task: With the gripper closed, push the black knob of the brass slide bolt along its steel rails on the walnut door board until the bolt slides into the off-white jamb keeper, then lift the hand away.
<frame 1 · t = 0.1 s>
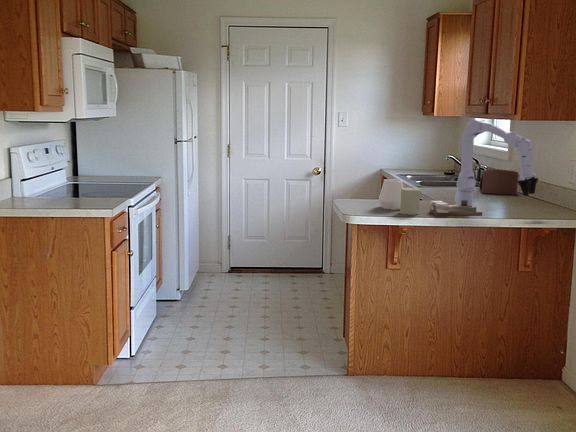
hand: (529, 194, 301), 11 cm above the worktop, tool pointing down, fingers open, 7 cm apart
beige upright block: (409, 213, 307), on the worktop
door board: (455, 213, 307), on the worktop
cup: (391, 208, 319), on the worktop
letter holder: (497, 193, 379), on the worktop
bolt: (457, 205, 307), point 4 cm above the worktop, slide at 0.0 cm
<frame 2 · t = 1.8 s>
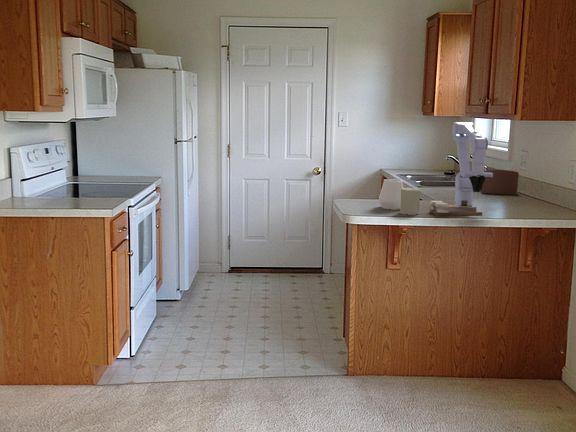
hand: (476, 192, 307), 10 cm above the worktop, tool pointing down, fingers closed
nothing on the worktop moved.
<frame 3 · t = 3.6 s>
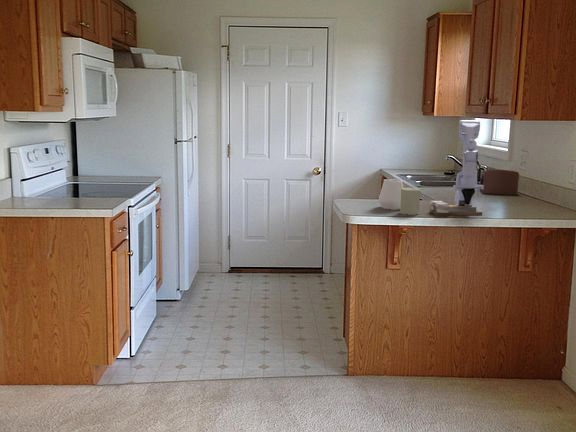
hand: (467, 204, 307), 4 cm above the worktop, tool pointing down, fingers closed
bolt: (454, 205, 307), point 4 cm above the worktop, slide at 1.2 cm, touching gripper
everything else where it was.
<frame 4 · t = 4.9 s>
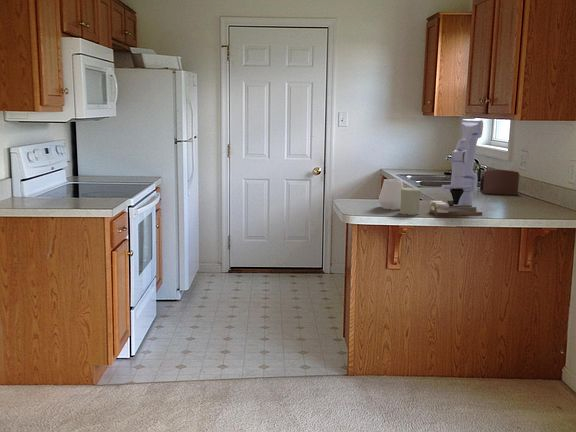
hand: (455, 204, 306), 4 cm above the worktop, tool pointing down, fingers closed
bolt: (443, 205, 306), point 4 cm above the worktop, slide at 7.0 cm, touching gripper
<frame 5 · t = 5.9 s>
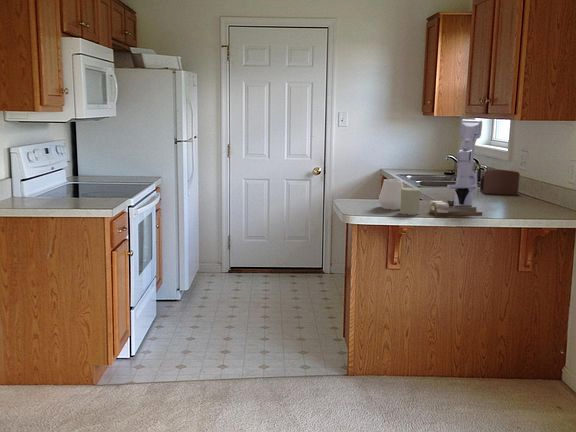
hand: (461, 204, 307), 4 cm above the worktop, tool pointing down, fingers closed
bolt: (443, 205, 306), point 4 cm above the worktop, slide at 7.0 cm
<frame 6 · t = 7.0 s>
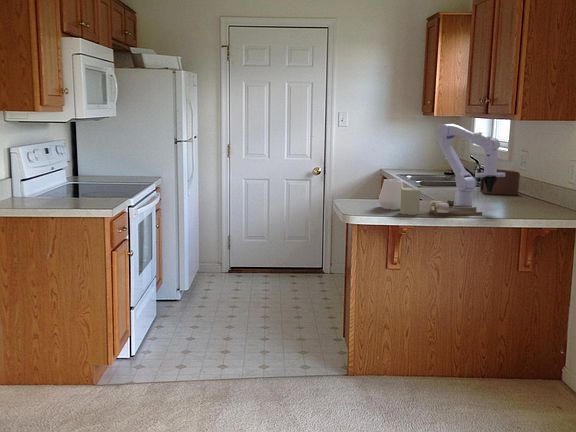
hand: (489, 192, 312), 10 cm above the worktop, tool pointing down, fingers closed
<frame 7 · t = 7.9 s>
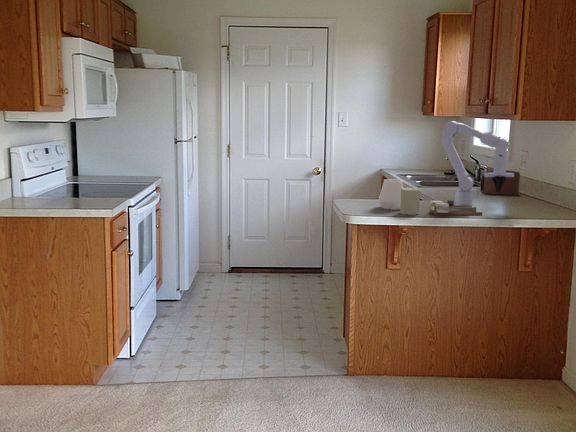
hand: (497, 191, 316), 9 cm above the worktop, tool pointing down, fingers closed
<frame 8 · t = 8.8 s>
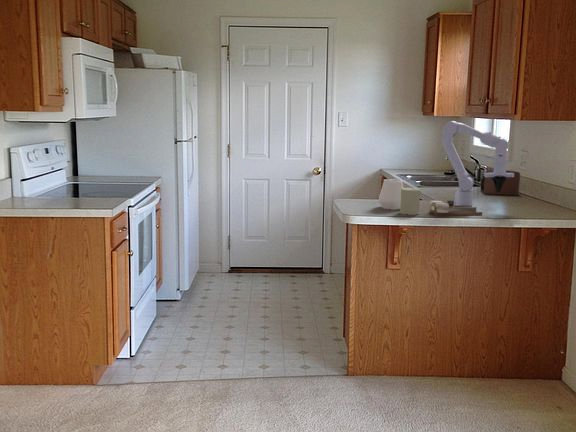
hand: (497, 191, 316), 9 cm above the worktop, tool pointing down, fingers closed
at the end: bolt slide at 7.0 cm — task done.
